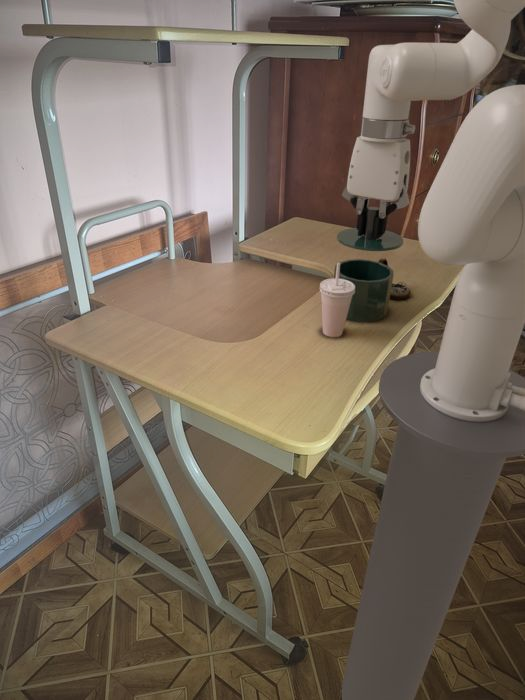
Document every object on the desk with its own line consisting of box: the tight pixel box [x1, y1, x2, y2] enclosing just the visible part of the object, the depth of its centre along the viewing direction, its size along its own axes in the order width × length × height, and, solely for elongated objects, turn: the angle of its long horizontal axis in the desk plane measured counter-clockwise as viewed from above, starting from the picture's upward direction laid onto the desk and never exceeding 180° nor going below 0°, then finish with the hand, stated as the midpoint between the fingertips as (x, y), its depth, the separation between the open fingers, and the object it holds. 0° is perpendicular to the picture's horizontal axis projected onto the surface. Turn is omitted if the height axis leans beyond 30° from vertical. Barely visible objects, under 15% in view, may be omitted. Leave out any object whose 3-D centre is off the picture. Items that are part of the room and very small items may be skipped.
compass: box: [377, 258, 412, 300], centre depth 108 cm, size 8×8×7 cm
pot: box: [333, 258, 394, 323], centre depth 100 cm, size 11×11×8 cm
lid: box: [336, 206, 404, 252], centre depth 93 cm, size 12×12×7 cm
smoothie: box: [319, 262, 355, 338], centre depth 90 cm, size 6×6×14 cm
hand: (370, 235), depth 94 cm, fingers closed on lid, 2 cm apart
